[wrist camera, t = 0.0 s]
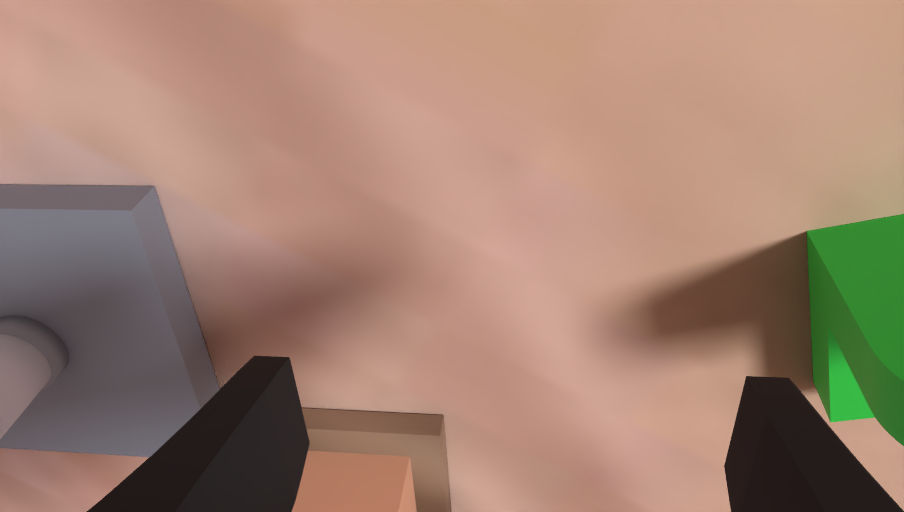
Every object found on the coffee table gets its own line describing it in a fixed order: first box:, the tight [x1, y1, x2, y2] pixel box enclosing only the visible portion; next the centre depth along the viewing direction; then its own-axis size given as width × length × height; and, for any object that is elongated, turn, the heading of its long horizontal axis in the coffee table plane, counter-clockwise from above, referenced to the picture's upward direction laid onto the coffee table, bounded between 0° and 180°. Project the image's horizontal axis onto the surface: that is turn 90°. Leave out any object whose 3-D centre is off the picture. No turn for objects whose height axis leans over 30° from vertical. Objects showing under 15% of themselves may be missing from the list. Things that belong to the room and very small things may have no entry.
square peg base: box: [0, 184, 220, 457], centre depth 24 cm, size 11×11×5 cm
